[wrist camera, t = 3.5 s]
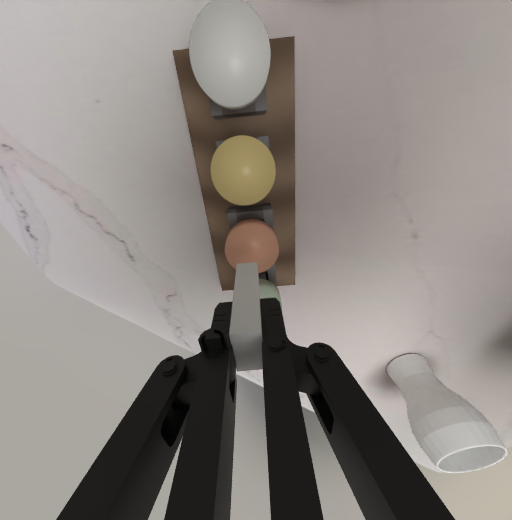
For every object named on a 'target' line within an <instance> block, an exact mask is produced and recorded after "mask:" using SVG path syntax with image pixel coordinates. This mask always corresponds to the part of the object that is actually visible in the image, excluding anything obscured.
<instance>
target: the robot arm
mask: <svg viewBox="0 0 512 520" xmlns="http://www.w3.org/2000/svg"><path fill="white" fill-rule="evenodd" d="M198 341H199V344H200V347H201V350H202V351H201V352H200V353H199V354H197V355H195V356H193V357H190V358H187V359H183V358H182V357H180V356H178V355H175V356H170V357H168V358H166V359H164V360H163V361H161V362H160V364H159V365H158V366H157V367H156V369H155V370H154V372H153V373H152V375H151V376H150V378H149V379H148V381H147V383H146V384H145V386H144V387H143V389H142V390H141V392H140V393H139V395H138V396H137V398H136V399H135V401H134V402H133V404H132V405H131V407H130V408H129V410H128V411H127V413H126V414H125V416H124V417H123V419H122V420H121V422H120V423H119V425H118V427H117V428H116V430H115V431H114V433H113V434H112V436H111V437H110V439H109V440H108V442H107V443H106V445H105V446H104V448H103V449H102V451H101V452H100V454H99V456H98V457H97V459H96V460H95V462H94V463H93V464H92V466H91V468H90V469H89V471H88V472H87V474H86V475H85V477H84V478H83V480H82V481H81V483H80V484H79V486H78V487H77V489H76V490H75V492H74V493H73V495H72V496H71V498H70V500H69V501H68V502H67V504H66V506H65V507H64V509H63V510H62V512H61V513H60V515H59V516H58V518H57V519H56V520H148V518H149V515H150V513H151V510H152V508H153V506H154V503H155V501H156V499H157V496H158V494H159V491H160V489H161V486H162V484H163V482H164V479H165V477H166V475H167V472H168V470H169V467H170V465H171V463H172V460H173V458H174V456H175V453H176V451H177V449H178V446H179V444H180V441H181V439H182V443H181V447H180V452H179V456H178V460H177V465H176V469H175V474H174V478H173V483H172V487H171V492H170V496H169V501H168V505H167V510H166V514H165V518H164V520H230V509H231V488H232V468H233V449H234V428H235V409H236V389H237V380H236V369H237V371H246V370H258V369H263V382H264V400H265V418H266V436H267V453H268V472H269V488H270V489H269V490H270V507H271V520H323V515H322V510H321V504H320V500H319V494H318V489H317V484H316V479H315V474H314V469H313V463H312V458H311V453H310V448H309V443H308V438H307V433H306V428H305V422H304V417H303V413H302V407H301V402H300V397H299V391H300V392H303V393H306V394H307V396H308V398H309V400H310V402H311V404H312V407H313V409H314V411H315V413H316V415H317V417H318V419H319V421H320V424H321V426H322V428H323V430H324V432H325V434H326V436H327V438H328V441H329V443H330V445H331V447H332V449H333V451H334V453H335V455H336V458H337V460H338V462H339V464H340V466H341V468H342V470H343V472H344V474H345V477H346V479H347V481H348V483H349V485H350V487H351V489H352V492H353V494H354V496H355V498H356V500H357V502H358V504H359V506H360V509H361V511H362V513H363V515H364V517H365V519H366V520H455V519H454V517H453V516H452V515H451V513H450V512H449V510H448V509H447V508H446V506H445V505H444V503H443V502H442V501H441V499H440V498H439V496H438V495H437V494H436V492H435V491H434V489H433V488H432V487H431V485H430V484H429V482H428V481H427V479H426V478H425V477H424V475H423V474H422V472H421V471H420V470H419V468H418V467H417V466H416V464H415V463H414V461H413V460H412V458H411V457H410V456H409V454H408V453H407V451H406V450H405V449H404V447H403V446H402V444H401V443H400V442H399V440H398V439H397V437H396V436H395V434H394V433H393V432H392V430H391V429H390V427H389V426H388V425H387V423H386V422H385V420H384V419H383V418H382V416H381V415H380V413H379V412H378V411H377V409H376V408H375V406H374V405H373V404H372V402H371V401H370V399H369V398H368V397H367V395H366V394H365V392H364V391H363V390H362V388H361V387H360V385H359V384H358V383H357V381H356V380H355V378H354V377H353V375H352V374H351V373H350V371H349V370H348V368H347V367H346V366H345V364H344V363H343V361H342V360H341V359H340V357H339V356H338V354H337V353H336V352H335V350H334V349H333V348H332V347H331V346H329V345H327V344H324V343H314V344H312V345H310V346H309V347H308V348H306V347H301V346H298V345H295V344H293V343H292V342H291V341H289V339H288V338H287V335H286V331H285V326H284V321H283V315H282V310H281V305H280V302H279V301H278V300H277V298H276V297H274V298H262V299H261V298H260V286H259V277H258V267H257V262H252V263H241V264H237V266H236V275H235V284H234V294H233V302H223V303H219V304H218V305H217V307H216V308H215V311H214V317H213V322H212V325H211V329H208V330H206V331H204V332H203V333H202V334H201V335H200V337H199V339H198ZM182 437H183V438H182Z"/></svg>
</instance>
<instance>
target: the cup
mask: <svg viewBox="0 0 512 520" xmlns="http://www.w3.org/2000/svg"><path fill="white" fill-rule="evenodd" d="M386 370H387V373H388V375H389V376H390V377H391V379H392V380H393V381H394V382H395V384H396V385H397V386H398V387H399V388H400V390H401V392H402V395H403V397H404V399H405V401H406V404H407V413H408V419H409V422H410V426H411V429H412V432H413V434H414V436H415V438H416V439H417V441H418V443H419V445H420V447H421V448H422V449H423V451H424V452H425V453H426V454H427V456H428V457H429V458H430V460H431V461H432V462H433V463H434V465H435V466H436V467H437V469H438V470H440V471H442V472H447V473H463V472H470V471H475V470H479V469H483V468H486V467H489V466H492V465H494V464H496V463H498V462H500V461H501V460H503V459H504V458H505V457H506V456H507V453H508V452H507V449H506V447H505V445H504V444H503V442H502V440H501V439H500V437H499V435H498V434H497V432H496V430H495V429H494V427H493V426H492V425H491V423H490V422H489V421H488V420H487V419H486V418H485V416H484V415H483V414H482V413H481V412H480V411H479V410H478V409H476V408H475V407H474V406H473V405H471V404H470V403H469V402H468V401H466V400H465V399H464V398H463V397H461V396H460V395H458V394H456V393H455V392H453V391H451V390H450V389H448V388H447V387H446V386H445V385H444V384H443V383H442V382H441V381H440V380H439V379H438V378H437V377H436V376H435V375H434V373H433V371H432V369H431V368H430V366H429V364H428V363H427V361H426V360H425V358H424V357H423V356H422V355H419V354H406V355H402V356H399V357H397V358H395V359H394V360H392V361H391V362H390V363H389V364H388V366H387V369H386Z"/></svg>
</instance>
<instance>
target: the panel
mask: <svg viewBox="0 0 512 520" xmlns="http://www.w3.org/2000/svg"><path fill="white" fill-rule="evenodd" d="M269 42H270V51H271V59H270V67H269V72H268V77H267V80H266V84H265V86H264V89H263V91H262V92H261V94H260V95H259V97H258V98H257V99H256V100H255V101H254V102H253V103H252V104H250V105H249V106H247V107H245V108H242V109H238V110H232V109H226V108H223V107H221V106H219V105H218V104H216V103H215V102H214V101H213V100H211V98H210V97H209V96H208V95H207V94H206V93H205V92H204V91H203V89H202V88H201V87H200V85H199V83H198V82H197V80H196V78H195V75H194V73H193V70H192V66H191V62H190V55H189V49H183V50H174V51H173V55H174V59H175V64H176V69H177V74H178V79H179V84H180V88H181V93H182V98H183V103H184V108H185V113H186V117H187V122H188V127H189V132H190V137H191V142H192V146H193V151H194V156H195V161H196V166H197V171H198V175H199V180H200V185H201V190H202V195H203V200H204V204H205V209H206V214H207V219H208V224H209V229H210V233H211V238H212V243H213V248H214V253H215V258H216V262H217V267H218V272H219V277H220V282H221V287H222V291H224V290H234V284H235V275H236V269H235V268H233V267H232V266H231V265H230V263H229V262H228V260H227V258H226V255H225V244H226V240H227V236H228V233H229V232H230V230H231V229H232V227H233V226H234V225H236V224H237V223H239V222H241V221H243V220H247V219H257V220H261V221H263V222H265V223H267V224H268V225H269V226H270V227H271V228H272V229H273V230H274V232H275V234H276V237H277V241H278V245H279V255H278V258H277V260H276V262H275V263H274V264H273V266H272V267H270V268H269V269H268V270H266V271H264V272H266V280H268V281H270V282H272V283H273V284H274V285H275V286H276V287H277V286H283V285H295V97H294V36H293V37H285V38H276V39H269ZM239 135H245V136H250V137H253V138H256V139H258V140H259V141H261V142H262V143H263V144H264V145H265V146H266V147H267V148H268V149H269V151H270V152H271V154H272V156H273V159H274V162H275V168H276V175H275V181H274V184H273V186H272V188H271V190H270V192H269V193H268V194H267V195H266V197H264V198H263V199H262V200H261V201H259V202H257V203H255V204H252V205H237V204H233V203H231V202H229V201H227V200H226V199H224V198H223V197H222V196H221V195H220V194H219V193H218V191H217V190H216V188H215V186H214V184H213V181H212V178H211V161H212V158H213V155H214V153H215V151H216V149H217V148H218V147H219V146H220V145H221V144H222V143H223V142H224V141H225V140H227V139H229V138H231V137H234V136H239Z"/></svg>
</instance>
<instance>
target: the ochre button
mask: <svg viewBox="0 0 512 520" xmlns="http://www.w3.org/2000/svg"><path fill="white" fill-rule="evenodd" d="M275 175H276V168H275V162H274V159H273V156H272V154H271V152H270V151H269V149H268V148H267V147H266V146H265V145H264V144H263V143H262V142H261V141H259V140H258V139H256V138H253V137H250V136H245V135H239V136H234V137H231V138H229V139H227V140H225V141H224V142H223V143H222V144H221V145H220V146H219V147H218V148H217V149H216V151H215V153H214V155H213V158H212V161H211V178H212V181H213V184H214V186H215V188H216V190H217V191H218V193H219V194H220V195H221V196H222V197H223V198H224V199H226V200H227V201H229V202H231V203H233V204H237V205H252V204H255V203H257V202H259V201H261V200H262V199H263V198H264V197H266V195H267V194H268V193H269V192H270V190H271V188H272V186H273V184H274V181H275Z"/></svg>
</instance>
